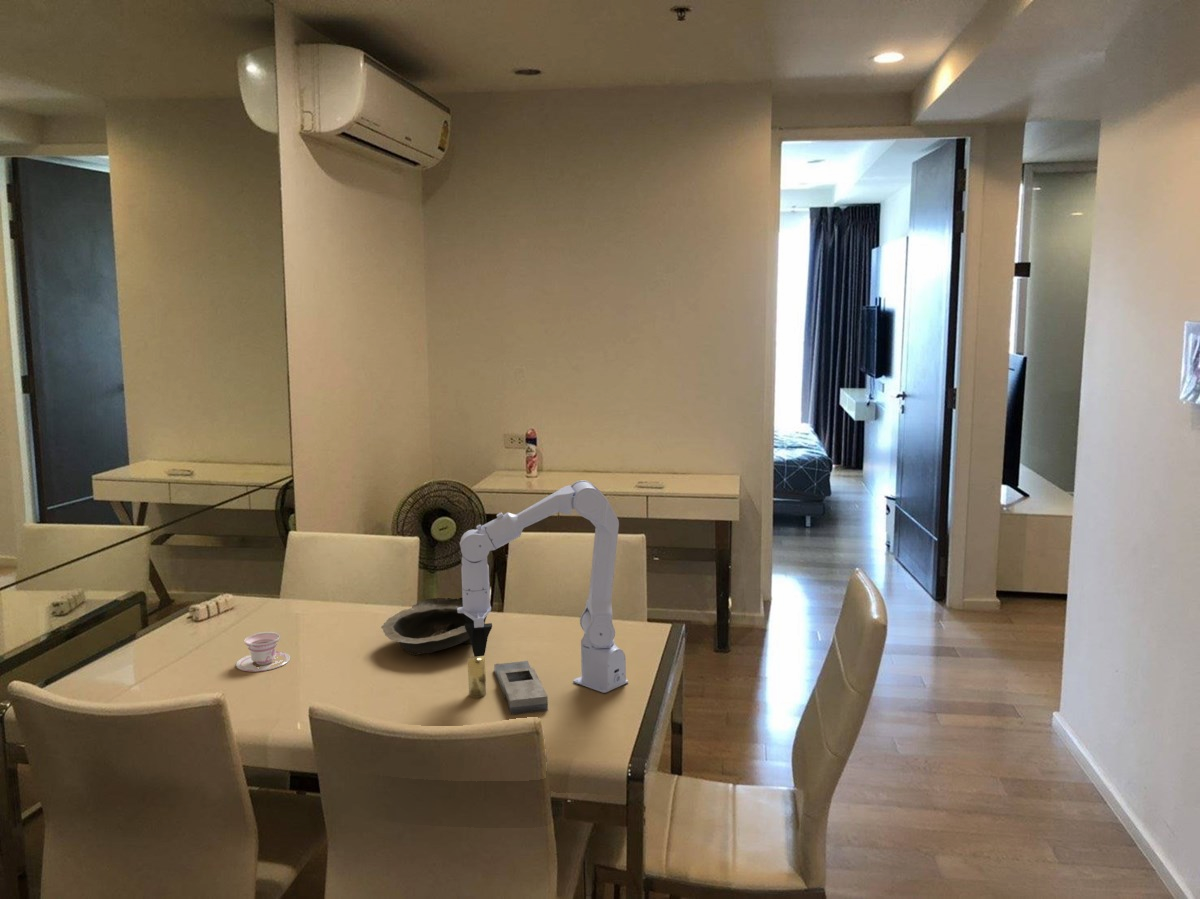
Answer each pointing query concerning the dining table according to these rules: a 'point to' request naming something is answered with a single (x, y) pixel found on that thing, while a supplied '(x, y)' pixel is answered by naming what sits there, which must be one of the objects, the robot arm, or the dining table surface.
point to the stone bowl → (428, 626)
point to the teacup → (261, 652)
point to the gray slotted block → (521, 687)
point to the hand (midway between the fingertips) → (477, 649)
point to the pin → (476, 676)
